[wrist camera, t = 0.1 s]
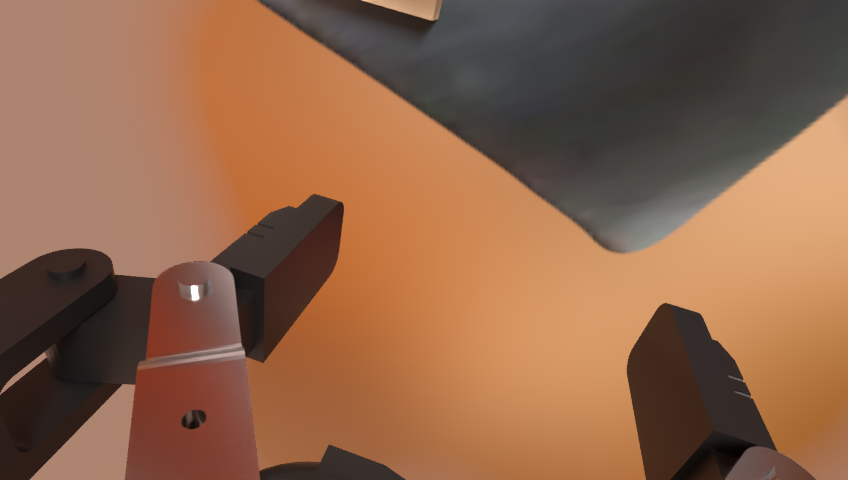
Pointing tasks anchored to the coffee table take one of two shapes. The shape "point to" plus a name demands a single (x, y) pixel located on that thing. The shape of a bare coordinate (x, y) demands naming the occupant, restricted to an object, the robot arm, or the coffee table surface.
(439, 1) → the board
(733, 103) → the coffee table surface
